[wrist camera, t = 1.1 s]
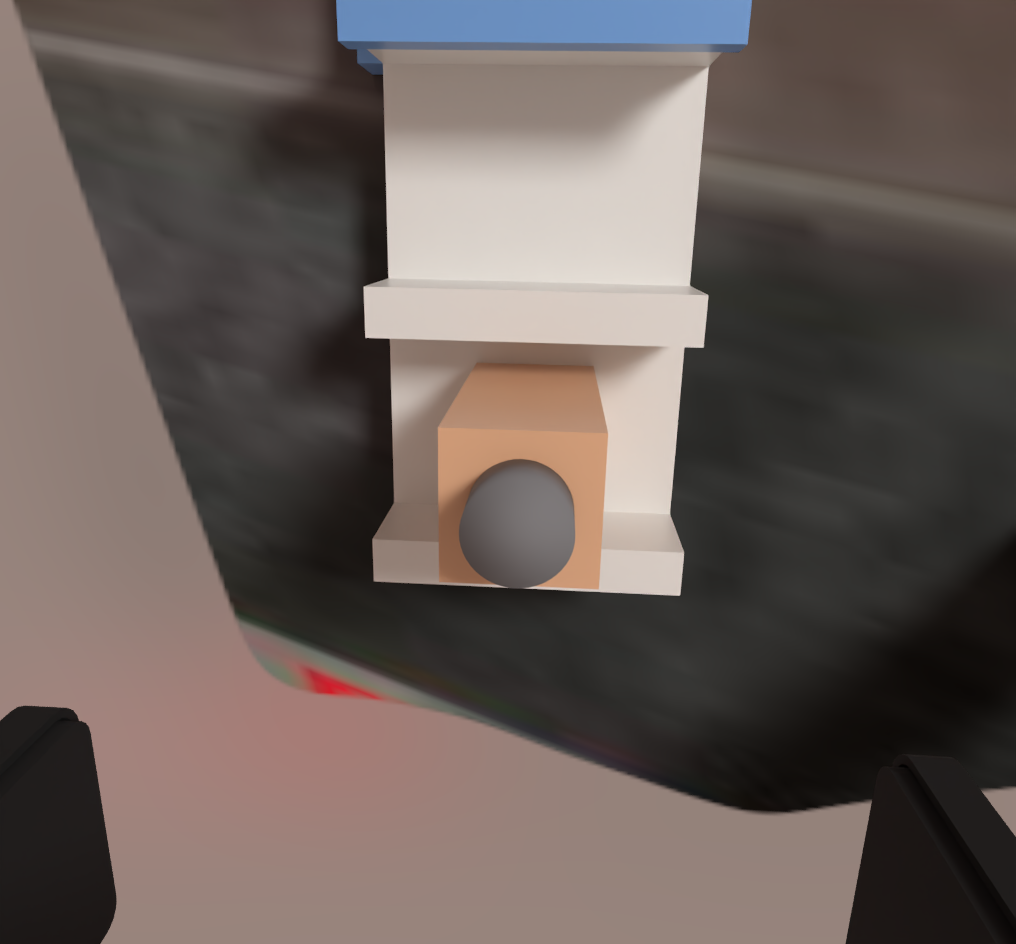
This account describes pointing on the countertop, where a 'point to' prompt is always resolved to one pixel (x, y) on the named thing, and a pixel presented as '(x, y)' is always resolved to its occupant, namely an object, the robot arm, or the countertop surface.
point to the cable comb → (541, 235)
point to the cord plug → (523, 478)
